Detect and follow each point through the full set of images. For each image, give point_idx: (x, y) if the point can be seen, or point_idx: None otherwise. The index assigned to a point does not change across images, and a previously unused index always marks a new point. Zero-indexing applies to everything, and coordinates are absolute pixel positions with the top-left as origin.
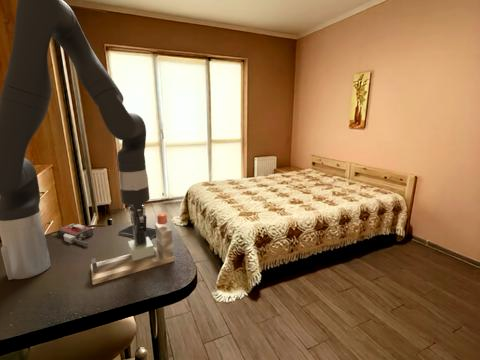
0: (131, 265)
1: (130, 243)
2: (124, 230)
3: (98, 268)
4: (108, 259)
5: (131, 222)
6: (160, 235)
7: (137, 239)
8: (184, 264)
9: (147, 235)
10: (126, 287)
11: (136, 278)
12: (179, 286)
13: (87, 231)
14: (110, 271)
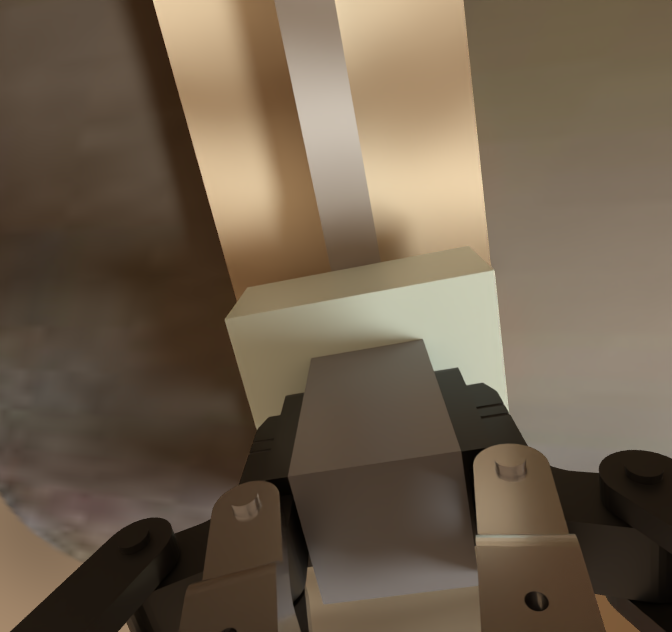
0: (273, 256)
1: (420, 299)
2: None
3: None
4: (465, 38)
5: (629, 460)
6: (329, 624)
7: (279, 427)
8: None
9: None
10: (68, 218)
11: (160, 280)
12: (22, 500)
13: None
14: (231, 87)
